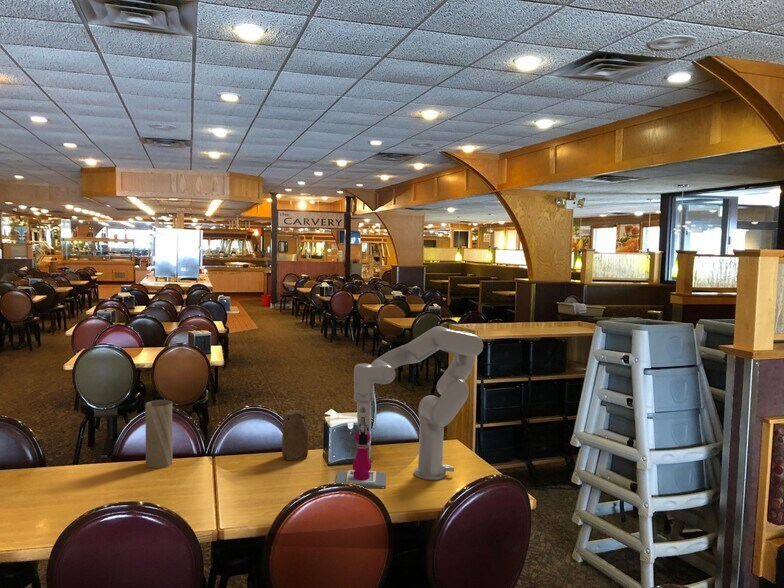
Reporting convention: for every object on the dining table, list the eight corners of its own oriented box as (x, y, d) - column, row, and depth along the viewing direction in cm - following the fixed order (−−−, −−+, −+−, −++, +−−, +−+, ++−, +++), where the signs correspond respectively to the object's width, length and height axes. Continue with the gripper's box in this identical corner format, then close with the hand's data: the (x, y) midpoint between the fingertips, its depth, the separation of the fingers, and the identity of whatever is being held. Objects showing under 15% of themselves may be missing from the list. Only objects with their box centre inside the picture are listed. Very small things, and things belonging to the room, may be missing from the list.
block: (282, 461, 255) (283, 414, 254) (281, 455, 263) (282, 409, 261) (308, 460, 258) (309, 413, 256) (307, 454, 265) (308, 408, 263)
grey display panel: (386, 474, 244) (386, 470, 244) (385, 488, 231) (385, 483, 231) (337, 473, 244) (338, 469, 244) (334, 486, 231) (335, 482, 231)
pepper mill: (356, 481, 234) (358, 430, 232) (349, 475, 240) (350, 424, 238) (374, 479, 237) (375, 428, 235) (366, 472, 243) (367, 422, 242)
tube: (141, 463, 248) (140, 402, 246) (164, 457, 256) (164, 398, 253) (153, 470, 242) (153, 407, 239) (177, 464, 249) (177, 403, 247)
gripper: (372, 402, 226) (372, 448, 228) (374, 390, 244) (374, 433, 245) (352, 402, 226) (352, 447, 228) (355, 390, 244) (355, 433, 245)
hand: (363, 440), depth 237 cm, fingers open, 9 cm apart
